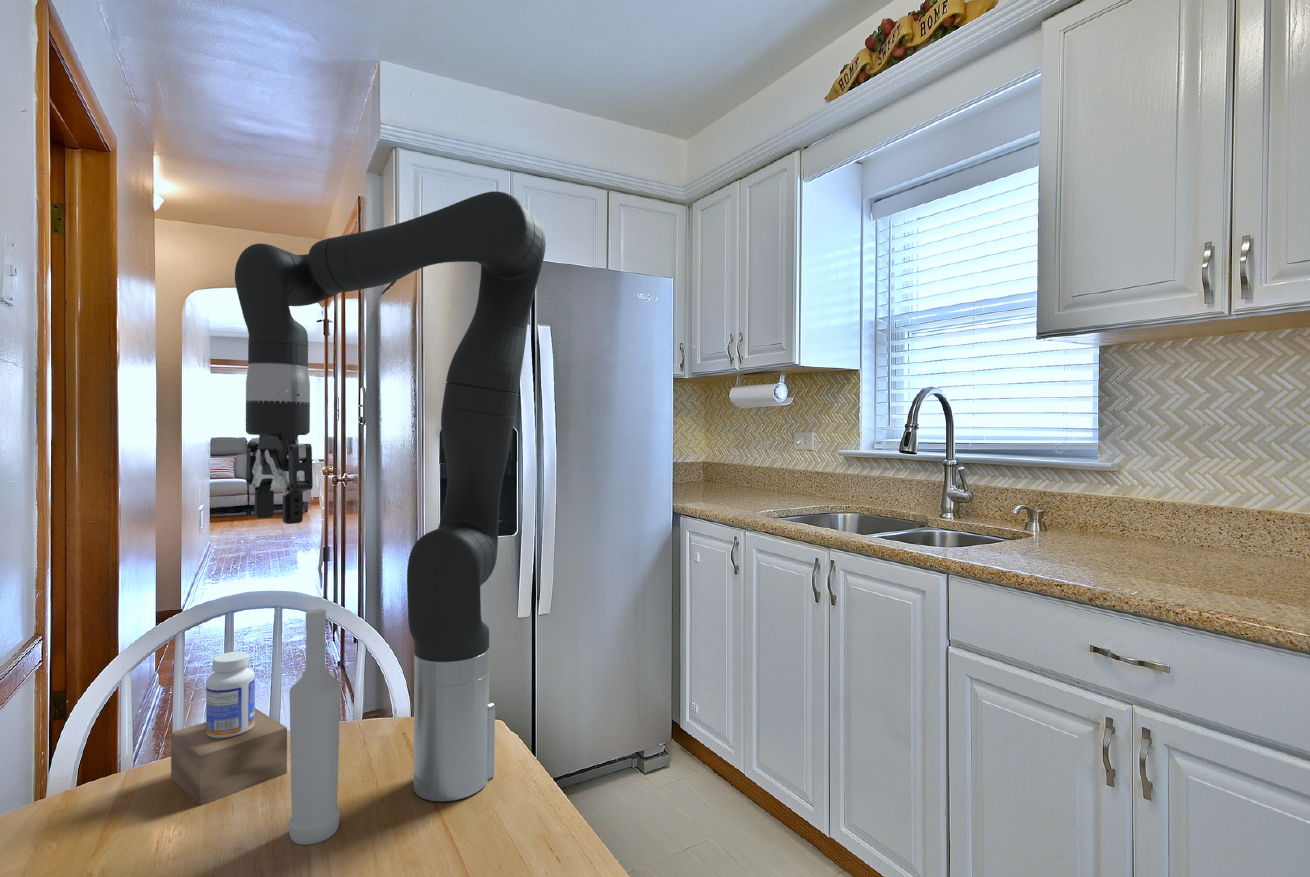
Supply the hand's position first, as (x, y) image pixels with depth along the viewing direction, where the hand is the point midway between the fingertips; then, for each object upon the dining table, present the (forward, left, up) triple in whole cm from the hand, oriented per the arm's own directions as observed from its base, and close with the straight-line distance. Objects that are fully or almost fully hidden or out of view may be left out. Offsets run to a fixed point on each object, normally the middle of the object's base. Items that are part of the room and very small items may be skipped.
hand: (277, 520), depth 91 cm
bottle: (+4, +19, -33) cm, 39 cm away
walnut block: (+5, -2, -33) cm, 34 cm away
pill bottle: (+5, -2, -27) cm, 28 cm away
